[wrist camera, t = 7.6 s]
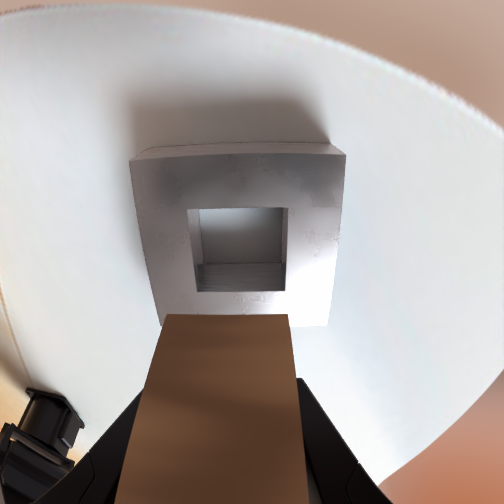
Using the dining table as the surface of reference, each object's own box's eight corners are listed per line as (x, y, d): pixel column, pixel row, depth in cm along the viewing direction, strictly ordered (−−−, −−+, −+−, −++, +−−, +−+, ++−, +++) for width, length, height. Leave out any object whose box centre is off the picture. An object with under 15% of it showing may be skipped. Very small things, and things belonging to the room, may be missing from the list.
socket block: (170, 296, 21) (160, 325, 19) (148, 148, 16) (128, 160, 14) (318, 295, 21) (326, 325, 18) (331, 143, 16) (345, 154, 14)
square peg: (185, 386, 11) (158, 565, 5) (166, 313, 9) (105, 549, 3) (282, 387, 11) (293, 572, 5) (287, 313, 9) (314, 567, 3)
